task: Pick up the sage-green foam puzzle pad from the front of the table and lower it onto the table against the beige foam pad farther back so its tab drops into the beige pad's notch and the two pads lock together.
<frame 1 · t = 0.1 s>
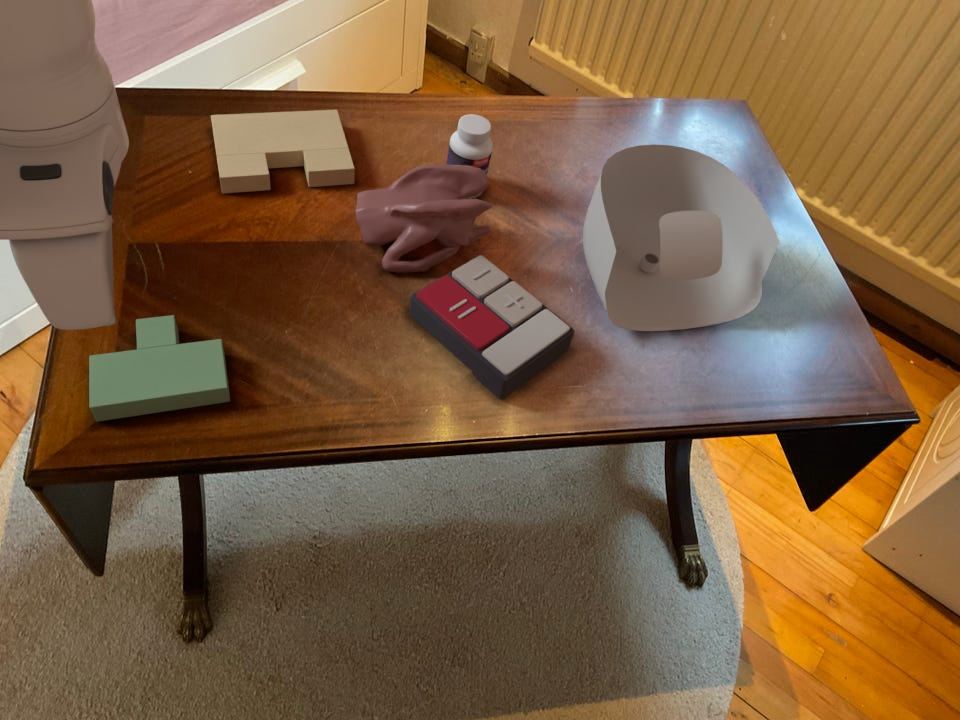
hand: (103, 273, 59), 17 cm above the table, tool pointing down, fingers open, 8 cm apart
pill bottle: (463, 187, 97), on the table
green pad: (163, 386, 72), on the table
beige pad: (283, 157, 95), on the table
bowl: (647, 272, 93), on the table
figurine: (421, 242, 90), on the table
calculator: (487, 333, 83), on the table
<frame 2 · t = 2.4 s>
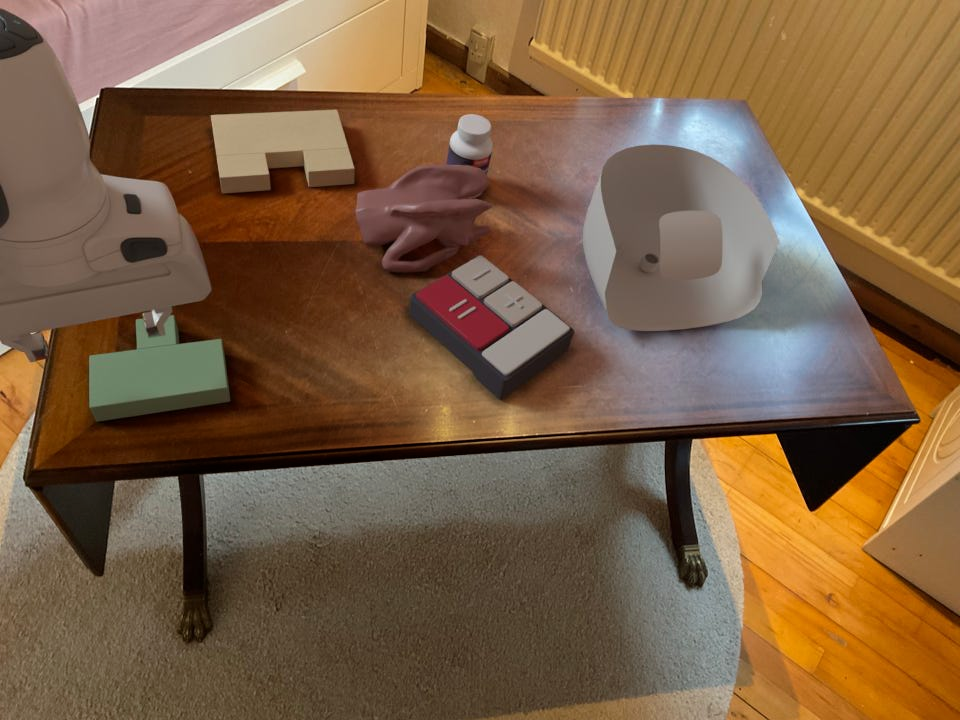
hand: (99, 342, 65), 8 cm above the table, tool pointing down, fingers open, 8 cm apart
nothing on the table moved.
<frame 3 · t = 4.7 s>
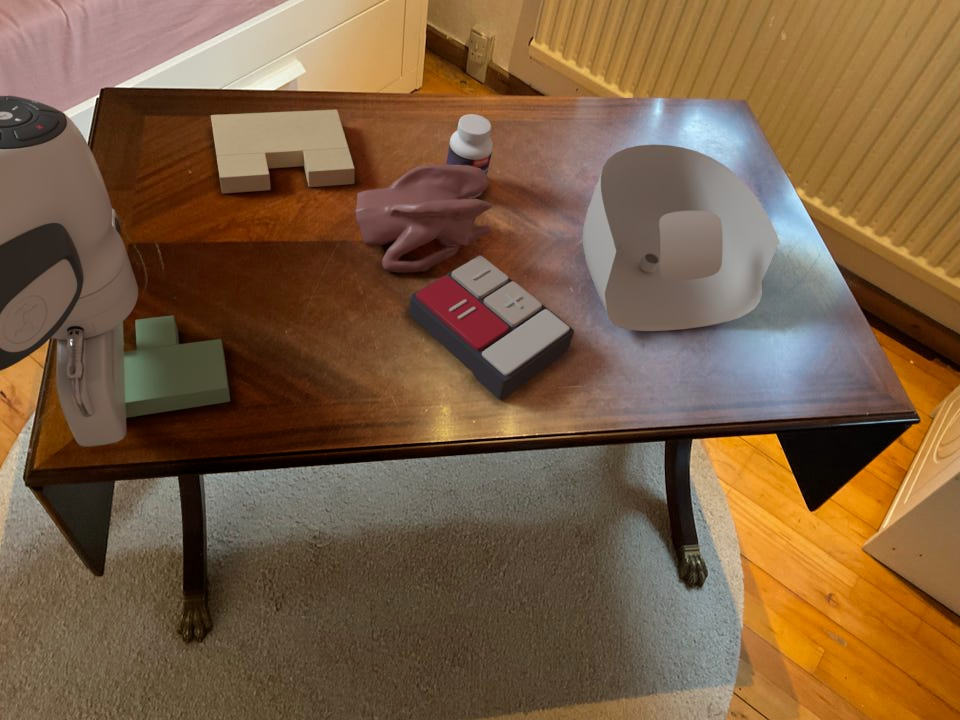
hand: (115, 382, 70), 2 cm above the table, tool pointing down, fingers closed on green pad, 6 cm apart
green pad: (163, 386, 72), on the table, touching gripper
everything else where it was.
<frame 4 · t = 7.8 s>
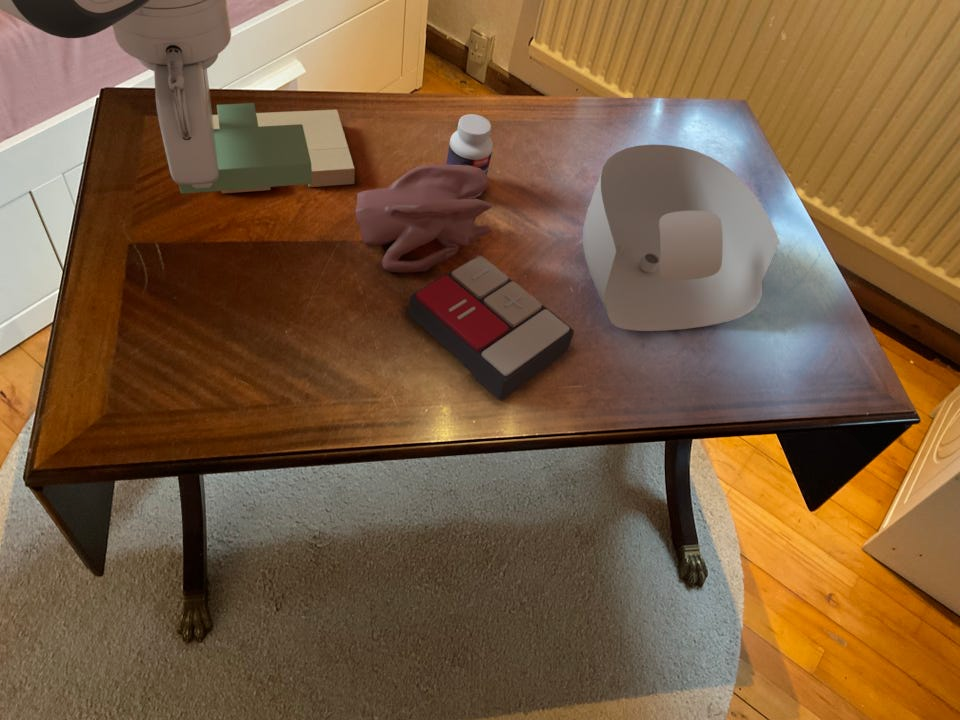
hand: (199, 156, 69), 16 cm above the table, tool pointing down, fingers closed on green pad, 6 cm apart
green pad: (245, 168, 72), point 14 cm above the table, touching gripper
everything else where it was.
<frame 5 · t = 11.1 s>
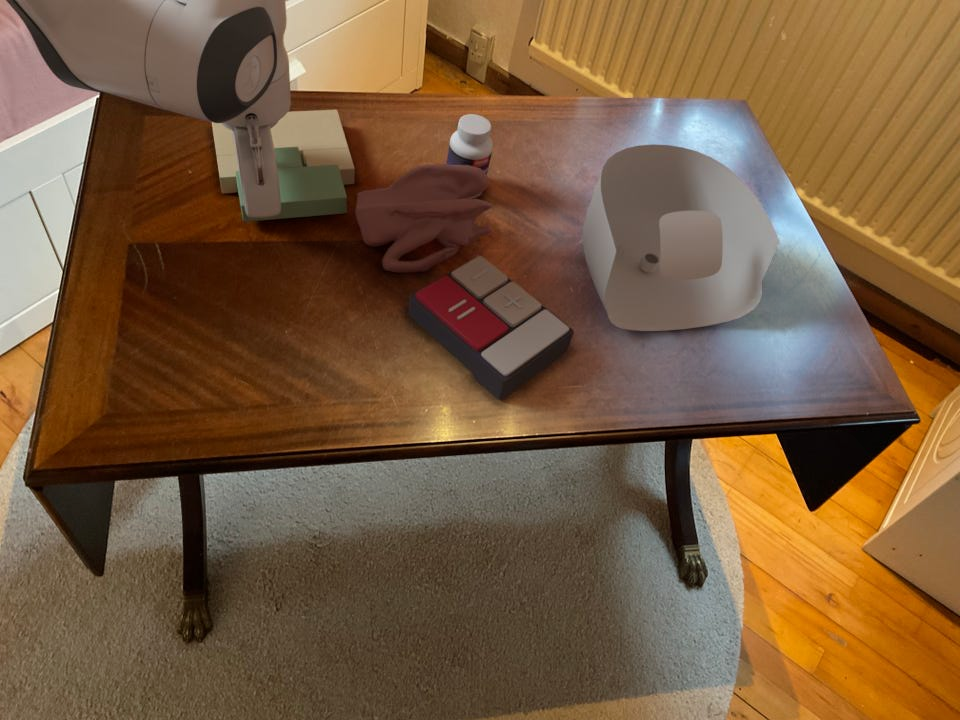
hand: (257, 192, 86), 3 cm above the table, tool pointing down, fingers closed on green pad, 6 cm apart
green pad: (292, 200, 89), point 1 cm above the table, touching gripper
everything else where it was.
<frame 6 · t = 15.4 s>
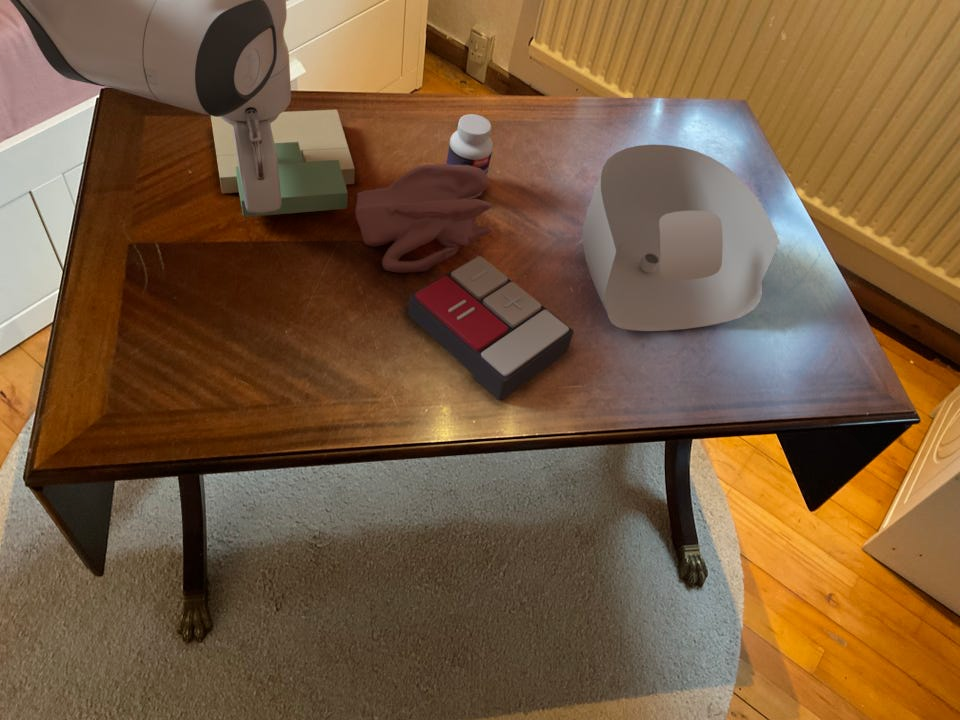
hand: (257, 187, 86), 3 cm above the table, tool pointing down, fingers closed on green pad, 6 cm apart
green pad: (292, 195, 88), point 2 cm above the table, touching gripper
everything else where it was.
when the fingers open (3 cm above the table, at t = 19.2 s): green pad drops 2 cm, on the table.
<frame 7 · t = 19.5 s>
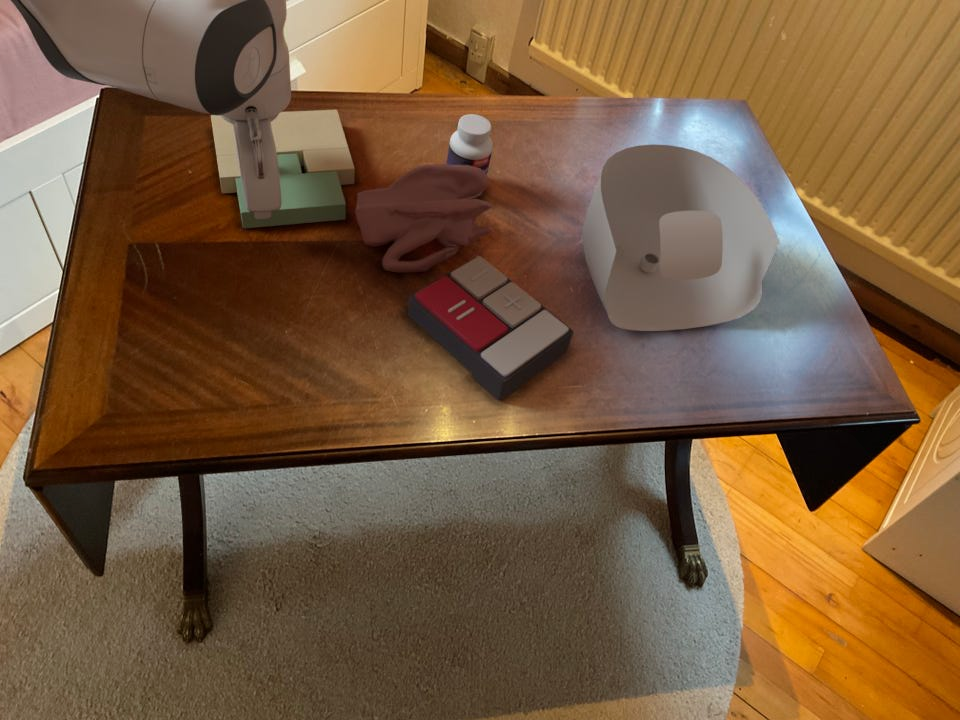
hand: (257, 186, 86), 4 cm above the table, tool pointing down, fingers open, 8 cm apart
green pad: (291, 207, 90), on the table
everything else where it was.
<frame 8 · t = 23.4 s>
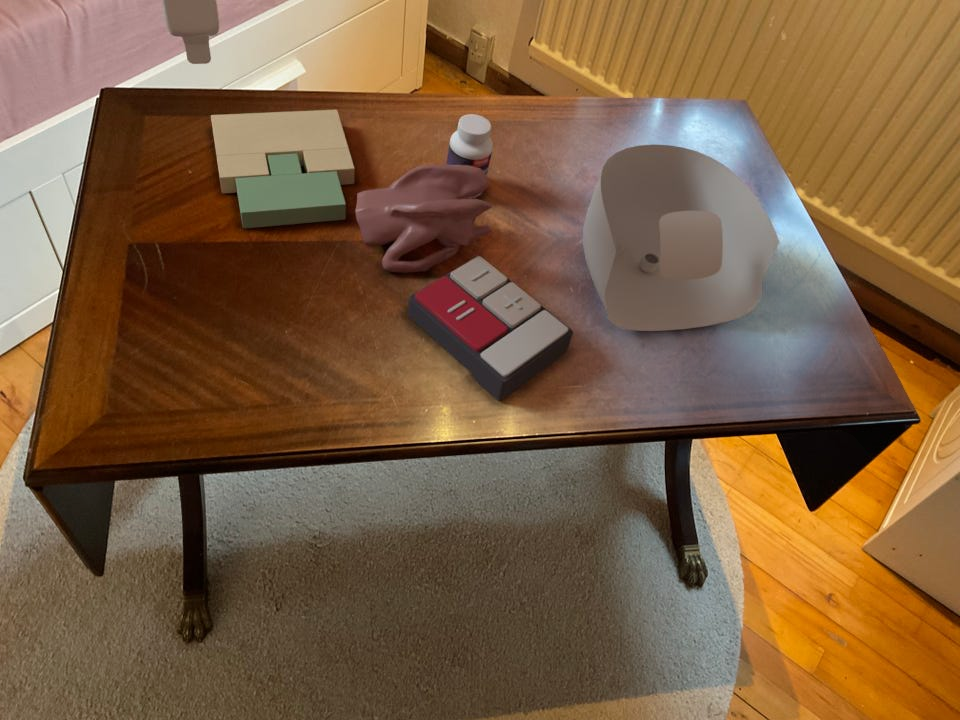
hand: (194, 26, 62), 27 cm above the table, tool pointing down, fingers open, 8 cm apart
nothing on the table moved.
at the end: green pad 0.3 cm from the target spot on the table beside the beige pad, on the table; green pad tilted 0° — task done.
